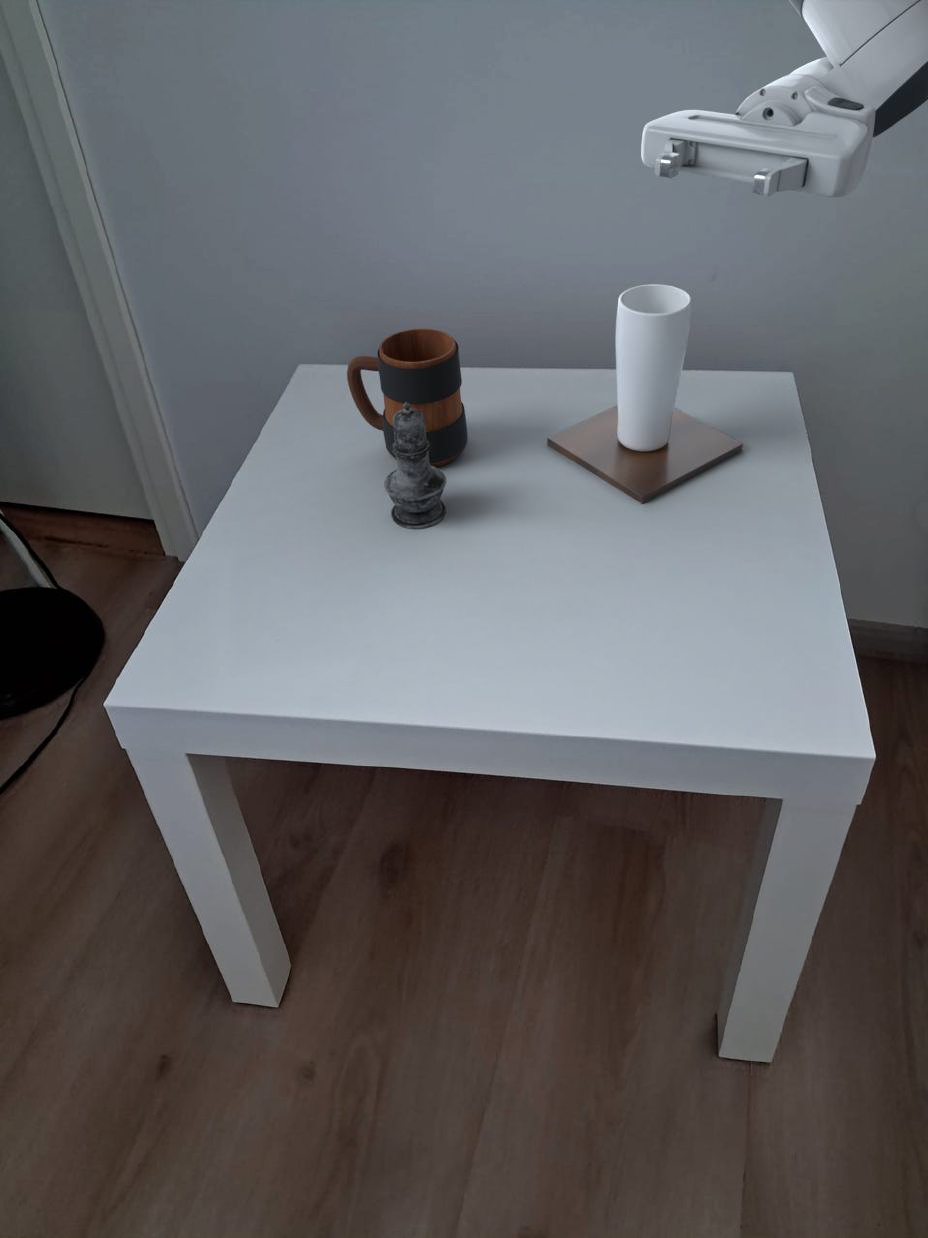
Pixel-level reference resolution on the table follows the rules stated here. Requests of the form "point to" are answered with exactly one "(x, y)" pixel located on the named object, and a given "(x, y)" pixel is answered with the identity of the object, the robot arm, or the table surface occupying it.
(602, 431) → the walnut board
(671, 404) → the drinking glass
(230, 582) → the table surface
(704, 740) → the table surface
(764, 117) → the robot arm
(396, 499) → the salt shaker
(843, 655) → the table surface
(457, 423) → the mug
